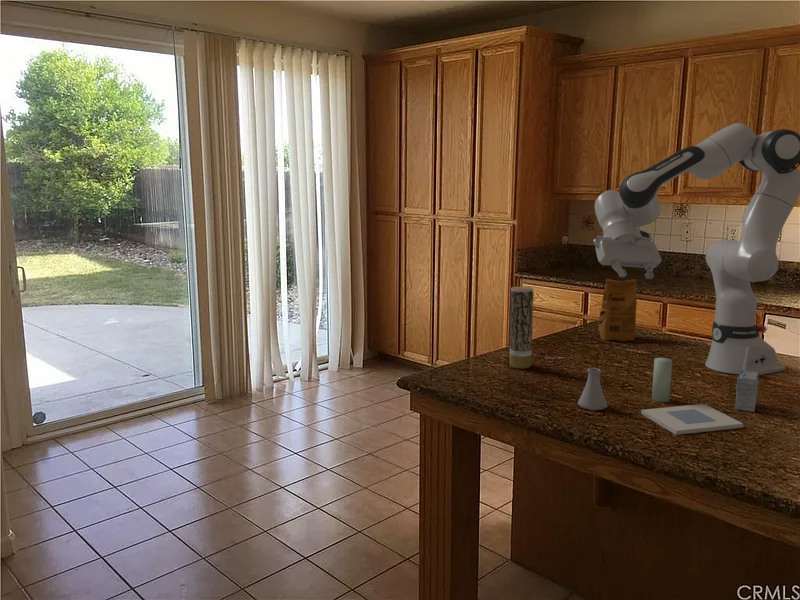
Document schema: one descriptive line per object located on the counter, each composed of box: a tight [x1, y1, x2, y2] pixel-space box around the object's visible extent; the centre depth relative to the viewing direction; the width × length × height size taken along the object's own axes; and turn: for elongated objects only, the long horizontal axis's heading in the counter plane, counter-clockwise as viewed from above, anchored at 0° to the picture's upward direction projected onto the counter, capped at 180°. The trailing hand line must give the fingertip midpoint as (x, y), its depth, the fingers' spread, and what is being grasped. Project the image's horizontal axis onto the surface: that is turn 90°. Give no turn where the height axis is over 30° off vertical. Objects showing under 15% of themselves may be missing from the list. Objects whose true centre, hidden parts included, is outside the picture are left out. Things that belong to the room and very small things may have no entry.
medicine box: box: [734, 370, 760, 413], centre depth 167 cm, size 8×4×9 cm, turn 148°
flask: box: [577, 367, 609, 411], centre depth 168 cm, size 7×7×10 cm
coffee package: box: [598, 278, 638, 342], centre depth 236 cm, size 10×12×22 cm
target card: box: [640, 403, 744, 436], centre depth 159 cm, size 18×14×1 cm
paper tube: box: [509, 286, 534, 370], centre depth 203 cm, size 7×7×25 cm
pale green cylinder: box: [651, 357, 673, 403], centre depth 173 cm, size 4×4×11 cm
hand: (637, 277), depth 186 cm, fingers open, 8 cm apart
